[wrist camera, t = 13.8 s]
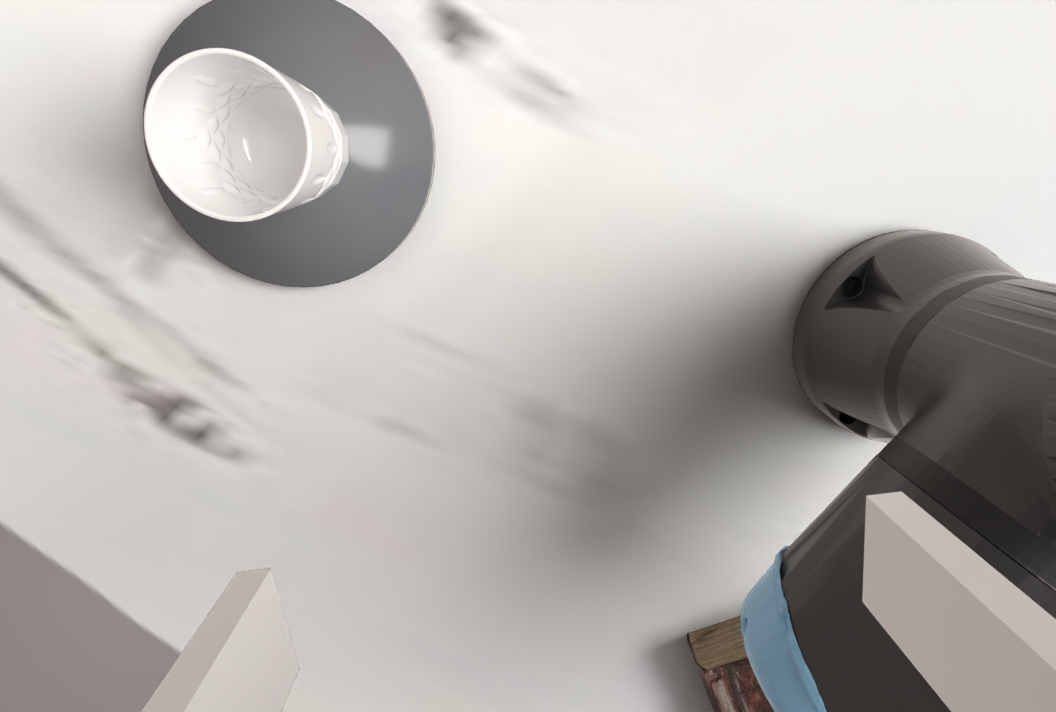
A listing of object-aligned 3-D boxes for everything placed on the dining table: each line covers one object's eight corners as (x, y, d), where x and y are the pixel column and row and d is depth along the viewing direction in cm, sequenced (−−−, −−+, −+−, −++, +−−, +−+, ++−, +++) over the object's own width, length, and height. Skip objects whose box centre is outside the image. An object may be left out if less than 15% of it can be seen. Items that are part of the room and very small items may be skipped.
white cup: (304, 50, 38) (234, 10, 28) (384, 162, 40) (344, 160, 30) (206, 128, 39) (107, 114, 29) (289, 233, 41) (221, 253, 31)
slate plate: (409, -26, 38) (405, -34, 37) (454, 266, 43) (452, 269, 42) (119, 13, 38) (104, 6, 37) (199, 298, 44) (188, 302, 42)
